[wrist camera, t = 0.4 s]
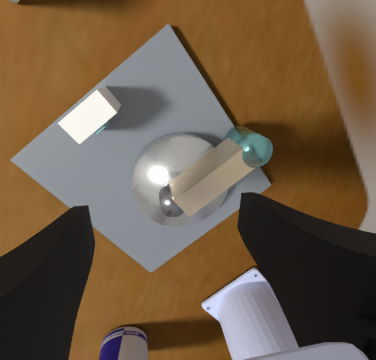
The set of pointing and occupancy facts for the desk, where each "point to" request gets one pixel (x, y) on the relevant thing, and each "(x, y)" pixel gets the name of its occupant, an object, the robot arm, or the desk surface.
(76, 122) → the white rectangular box
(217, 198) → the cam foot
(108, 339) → the energy drink
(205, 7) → the desk surface
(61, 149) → the stand board
